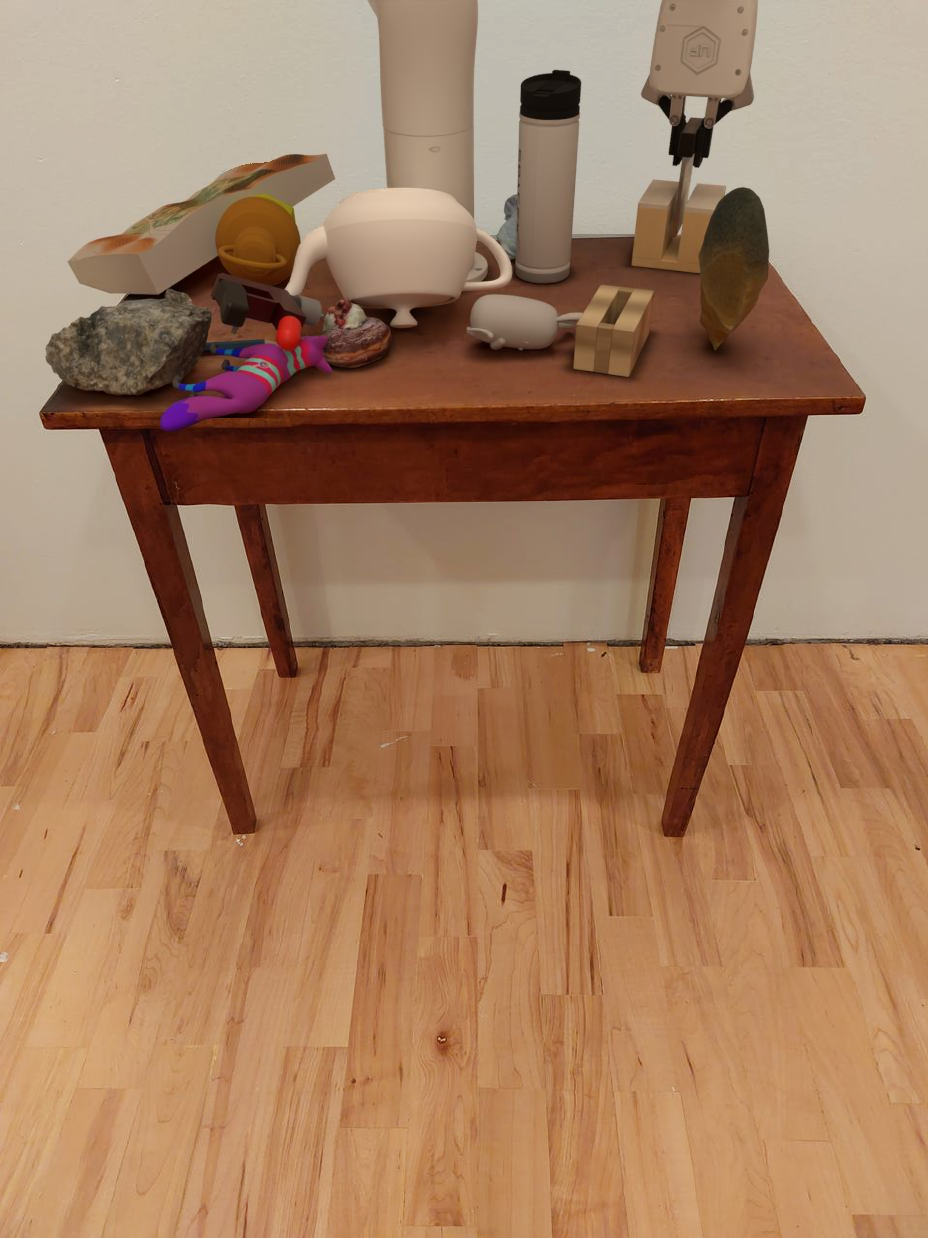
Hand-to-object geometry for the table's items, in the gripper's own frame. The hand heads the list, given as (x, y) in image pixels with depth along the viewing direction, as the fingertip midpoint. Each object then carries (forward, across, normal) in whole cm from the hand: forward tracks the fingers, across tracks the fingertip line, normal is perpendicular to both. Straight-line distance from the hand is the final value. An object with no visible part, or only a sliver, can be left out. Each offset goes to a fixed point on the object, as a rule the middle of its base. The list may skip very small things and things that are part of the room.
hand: (687, 162), depth 103 cm
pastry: (+10, -26, -36) cm, 46 cm away
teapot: (-1, -26, -26) cm, 36 cm away
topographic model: (+8, -52, -17) cm, 56 cm away
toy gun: (+3, -29, -43) cm, 52 cm away
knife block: (+10, -2, -28) cm, 30 cm away
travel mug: (+11, -14, -10) cm, 20 cm away
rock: (+4, -41, -52) cm, 67 cm away
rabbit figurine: (+10, -10, -30) cm, 33 cm away
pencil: (+10, -40, -41) cm, 58 cm away
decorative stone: (+11, +8, -25) cm, 28 cm away
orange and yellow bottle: (+10, -43, -22) cm, 50 cm away
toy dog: (+9, -36, -48) cm, 61 cm away
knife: (+7, 0, 0) cm, 7 cm away
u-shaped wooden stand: (+10, 0, -1) cm, 10 cm away
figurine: (+11, -18, -2) cm, 21 cm away
